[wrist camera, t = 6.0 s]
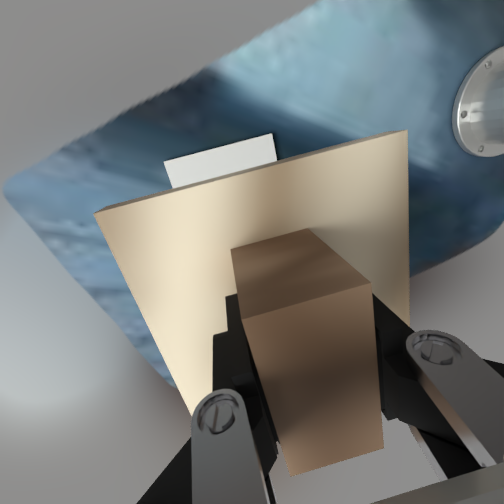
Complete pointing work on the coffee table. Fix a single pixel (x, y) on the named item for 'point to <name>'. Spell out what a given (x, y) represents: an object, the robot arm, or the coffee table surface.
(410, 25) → the coffee table surface
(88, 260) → the coffee table surface
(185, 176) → the mat
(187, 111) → the coffee table surface
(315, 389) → the lid
